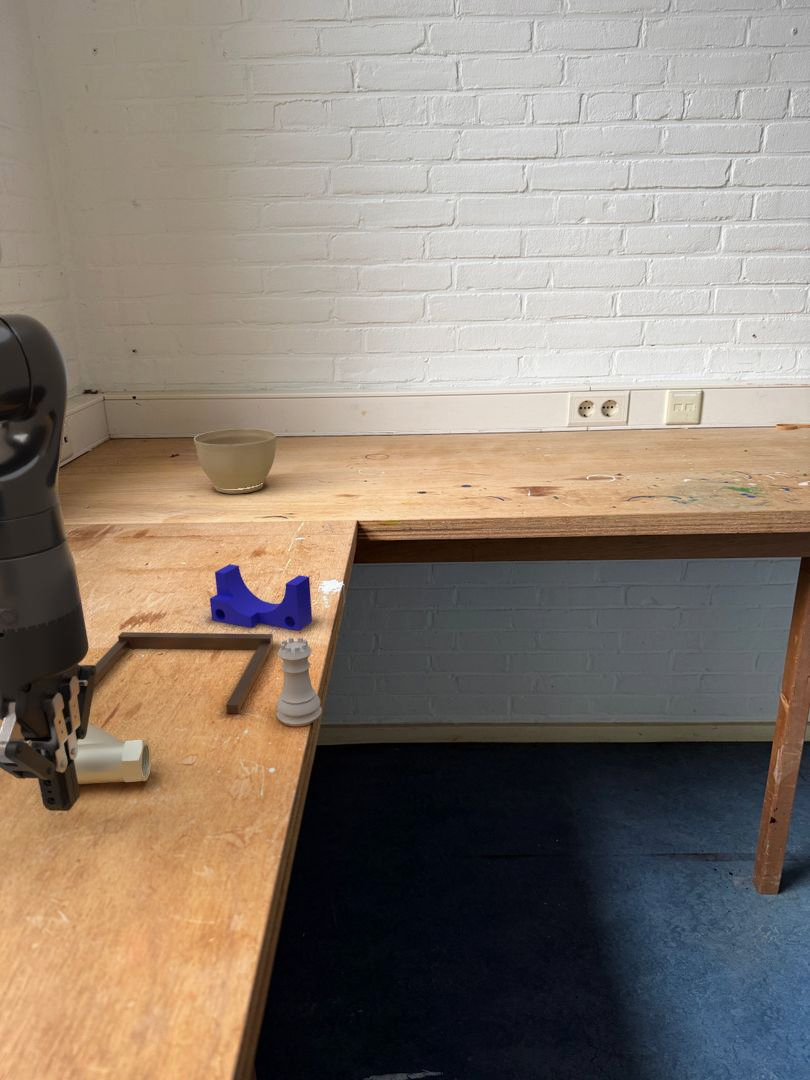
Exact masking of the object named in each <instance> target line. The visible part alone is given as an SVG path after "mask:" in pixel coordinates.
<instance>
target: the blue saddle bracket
mask: <svg viewBox="0 0 810 1080" xmlns="http://www.w3.org/2000/svg"><path fill="white" fill-rule="evenodd" d="M214 577H215V587H216V594H215V595H213V596H212V597H209V604H210V605H209V606H210V614H211V621H214V622H219V623H224V624H229V625H234V626H239V627H243V628H248V629H252V628H254V627H256V626H257V625H259V624H261V625H266V626H271V627H276V628H282V629H287V630H292V631H297V632H300V631H302V630H303V629H304V628H306V627H307V626H308V625H310V624H312V622H313V614H312V613H313V612H312V598H311V596H312V595H311V581H310V576H305V575H301V574H298V575H297V576H295V577H294V578H292V579H291V580H289V581H287V582H286V583H285V591H284V596H283V599H282V600H281V602H279V603H271V602H268V601H265V600H263V599H260V598H259V597H257V595H255V594H254V593H253V592H252V591H251V590H250V589H249V588H248V586H247V585H246V583H245V581H244V579H243V577H242V574H241V570H240V565H236V564H230V563H229V564H227V565H225V566H224V567H221V568H219V569H218V570H216V571H214Z"/></svg>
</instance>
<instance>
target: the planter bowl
mask: <svg viewBox="0 0 810 1080" xmlns="http://www.w3.org/2000/svg"><path fill="white" fill-rule="evenodd" d="M276 442H277V434H276V433H275V432H274V431H271V430H266V429H262V428H261V429H259V428H227V429H217V430H212V431H207V432H203V433H199V434H197V435H195V436H194V437H193V443H194V446H195V451H196V455H197V459H198V462H199V465H200V466H201V468H202V471H203V472H204V473H205V476H207V478H208V479H209V481H210V482H212V483H213V485H214V488H215V490H216V491H217V492H219V493H222V494H227V495H228V494H246V493H252V492H255V491H259V490H261V489H262V488H264V482H263V481H265V480H266V478H267V476H268V475H269V473H270V472H271V470H272V467H273V464H274V460H275V456H276ZM261 483H263V484H262V485H260V486H258V487H254V488H250V489H243V490H223V489H238V488H247V487H252V486H256V485H259V484H261ZM215 486H216V487H218V488H223V489H218V488H216V487H215Z"/></svg>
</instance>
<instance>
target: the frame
mask: <svg viewBox="0 0 810 1080" xmlns="http://www.w3.org/2000/svg"><path fill="white" fill-rule="evenodd" d="M273 635H274V634H273V633H226V632H225V633H223V632H219V633H218V632H217V633H216V632H215V633H214V632H212V633H211V632H143V631H142V632H141V631H140V632H138V631H137V632H136V631H135V632H134V631H133V632H132V631H122V632H120V633H119V635H118V636H117V641H116V642H115V643H114V644H113V645H112V647H110V649H108V651H107V652H106V653H105V654H104V655H103V656H102V657H101V658H100V659H99V660H98V661H97V663H95V664H94V665H95V667H96V678H95V684H94V688H95V687H96V686H97V685H98V684H99V682H100V681H101V680H102V679H103V678H104V677H105V676H106V674H108V673H109V671H110V670H111V669H112V668H113V667H114V666H115V665H116V663H117V662H118V661H119V660H120V659H121V658H122V656H124V654H125V653H126V652H127V651H128V650H129V649H180V650H181V649H184V650H185V649H189V650H190V649H191V650H253V651H255V652H254V653H253V655H252V656H251V659H250V661H249V663H248V665H247V666H246V668H245V669H244V672H243V674H242V675H241V677H240V679H239V681H238V682H237V684H236V686H235V688H234V689H233V691H232V693H231V695H230V697H229V699H228V700H227V703H226V704H225V705H226V706H225V707H226V714H239V713H240V712H241V709H242V707H243V706H244V703H245V702H246V699H247V698H248V696H249V694H250V692H251V690H252V688H253V686H254V684H255V682H256V681H257V678H258V677H259V675H260V672H261V670H262V669H263V667H264V665H265V663H266V661H267V659H268V657H269V655H270V653H271V651H272V649H273V647H274V636H273Z"/></svg>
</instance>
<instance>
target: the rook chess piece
mask: <svg viewBox="0 0 810 1080" xmlns="http://www.w3.org/2000/svg"><path fill="white" fill-rule="evenodd" d="M308 643H309V642H308V640H307V639H304V637H301V636H297V640H295V639H294V637H293V636H291V637H288V641H287V640H286V639H283V640H282V641H281V643H280V648H279V649H278V651H277V656H278V657H279V658H280V659H281V660H282V664H281V667H280V668H281V670H282V671H283V686H282V691H281V692H280V694H279V697H278V699H277V703H276V705H275V707H276V714H275V715H276V717H277V719H278V720H279V721H280V723H283V724H284V725H286V726H289V727H304V726H308V725H310V724H312V723H315V722H316V721H317V719H318V718H319V717H320V716H321V715H322V711H323V708H322V707H321V703H322V701H321V699H320V697H319V695H318V693H316V690H315V689H314V688H313V685H312V682H311V676H310V668H311V663H310V661H309V657H310V656H311V654H312V652H313V649H312V648H311V646H309V644H308Z"/></svg>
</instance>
